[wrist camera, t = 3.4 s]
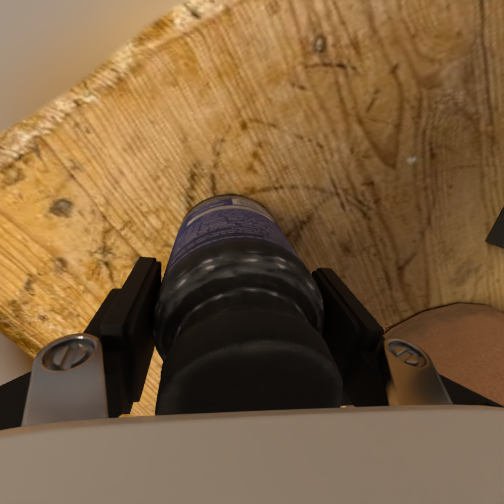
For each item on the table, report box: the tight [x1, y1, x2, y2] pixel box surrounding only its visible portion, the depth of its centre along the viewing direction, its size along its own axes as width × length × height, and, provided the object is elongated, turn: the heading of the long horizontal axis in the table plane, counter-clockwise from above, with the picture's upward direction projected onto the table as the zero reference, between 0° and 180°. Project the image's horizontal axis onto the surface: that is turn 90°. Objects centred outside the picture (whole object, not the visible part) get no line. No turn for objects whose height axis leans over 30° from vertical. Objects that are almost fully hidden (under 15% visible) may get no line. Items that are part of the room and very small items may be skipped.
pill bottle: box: [151, 194, 343, 416], centre depth 11 cm, size 6×6×11 cm
